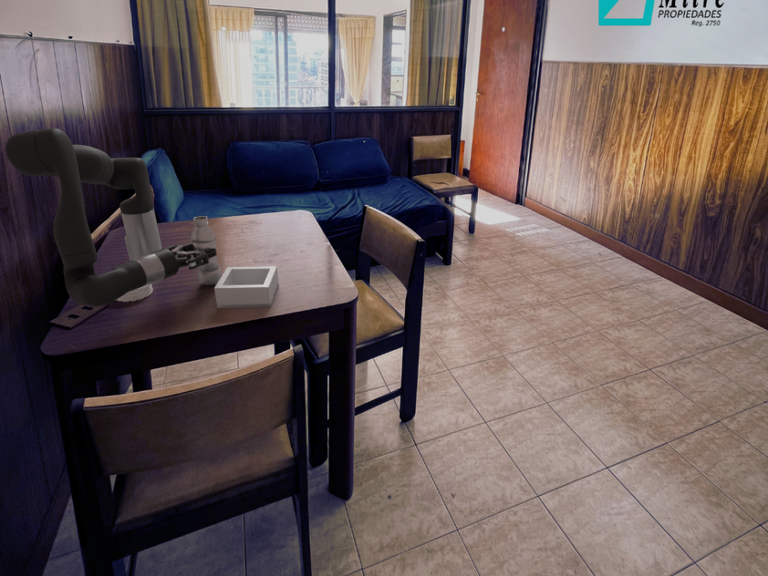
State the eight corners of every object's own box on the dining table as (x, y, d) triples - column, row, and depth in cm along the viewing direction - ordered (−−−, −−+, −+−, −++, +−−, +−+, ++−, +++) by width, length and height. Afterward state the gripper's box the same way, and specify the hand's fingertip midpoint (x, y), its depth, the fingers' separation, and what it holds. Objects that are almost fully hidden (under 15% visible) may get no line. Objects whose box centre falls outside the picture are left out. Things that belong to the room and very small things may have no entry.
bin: (217, 308, 128) (214, 288, 125) (230, 286, 141) (227, 267, 138) (270, 307, 129) (268, 287, 126) (278, 285, 141) (276, 266, 139)
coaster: (157, 286, 141) (155, 275, 140) (146, 301, 132) (144, 290, 131) (121, 288, 140) (119, 276, 138) (108, 303, 131) (105, 292, 130)
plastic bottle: (216, 289, 139) (205, 222, 130) (195, 287, 140) (182, 220, 131) (227, 280, 144) (217, 215, 136) (206, 278, 146) (195, 214, 137)
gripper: (168, 259, 120) (220, 240, 132) (134, 248, 127) (187, 231, 139) (174, 286, 123) (224, 265, 136) (141, 274, 130) (191, 255, 143)
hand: (205, 248), depth 137 cm, fingers open, 8 cm apart
